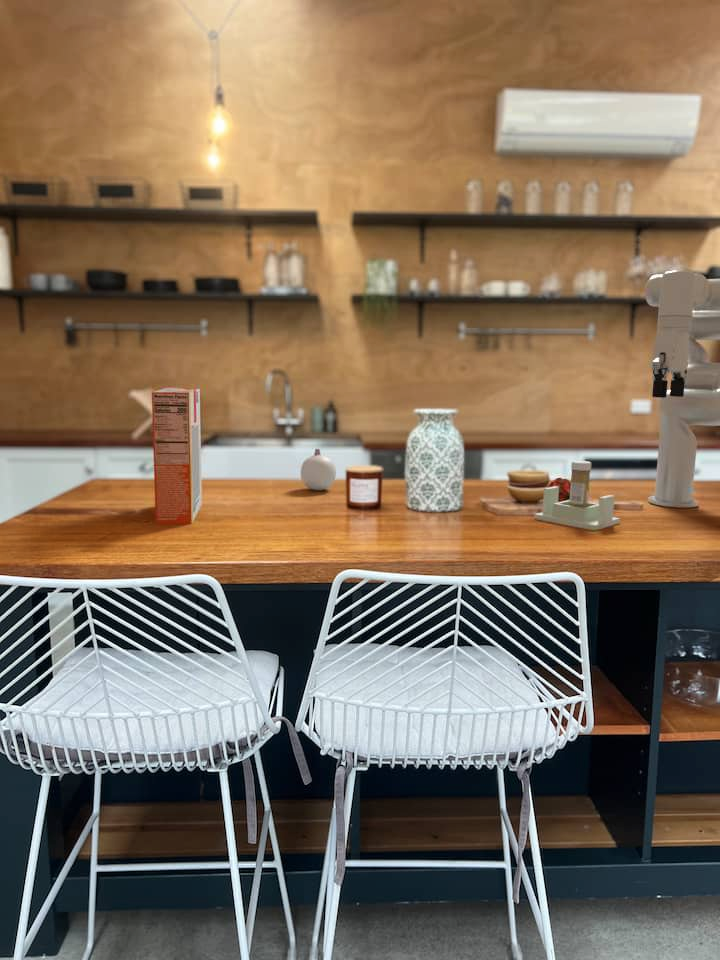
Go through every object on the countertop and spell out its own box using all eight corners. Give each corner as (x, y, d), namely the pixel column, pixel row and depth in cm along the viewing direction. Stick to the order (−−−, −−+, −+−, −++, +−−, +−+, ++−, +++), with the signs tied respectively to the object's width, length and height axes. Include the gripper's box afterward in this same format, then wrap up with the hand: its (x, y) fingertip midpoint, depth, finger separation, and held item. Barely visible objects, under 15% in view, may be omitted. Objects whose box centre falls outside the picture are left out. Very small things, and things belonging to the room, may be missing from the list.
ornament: (304, 486, 218) (304, 446, 216) (338, 487, 216) (338, 447, 214) (297, 492, 208) (297, 450, 206) (332, 493, 206) (332, 452, 204)
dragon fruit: (557, 508, 200) (569, 524, 188) (534, 490, 198) (544, 505, 187) (578, 484, 198) (591, 499, 186) (555, 466, 196) (567, 480, 185)
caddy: (560, 512, 186) (562, 484, 185) (619, 523, 175) (621, 493, 174) (534, 518, 178) (536, 490, 177) (594, 530, 167) (596, 500, 166)
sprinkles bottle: (591, 516, 176) (595, 462, 174) (578, 518, 173) (582, 463, 171) (576, 513, 180) (580, 459, 177) (563, 515, 177) (567, 460, 175)
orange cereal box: (170, 504, 188) (167, 387, 183) (201, 503, 189) (199, 388, 184) (155, 524, 166) (151, 392, 161) (191, 523, 167) (188, 392, 162)
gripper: (673, 326, 181) (667, 395, 184) (642, 323, 169) (636, 397, 172) (704, 326, 176) (698, 396, 179) (674, 322, 164) (668, 398, 167)
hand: (668, 396), depth 175 cm, fingers open, 9 cm apart
